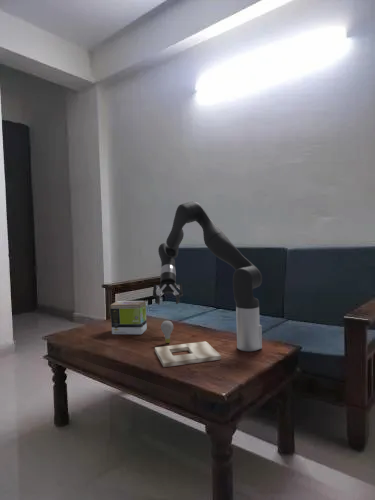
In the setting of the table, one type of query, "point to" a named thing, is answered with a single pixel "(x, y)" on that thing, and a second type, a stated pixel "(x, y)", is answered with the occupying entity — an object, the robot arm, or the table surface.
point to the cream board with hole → (197, 350)
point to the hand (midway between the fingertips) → (167, 303)
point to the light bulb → (167, 330)
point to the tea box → (128, 317)
